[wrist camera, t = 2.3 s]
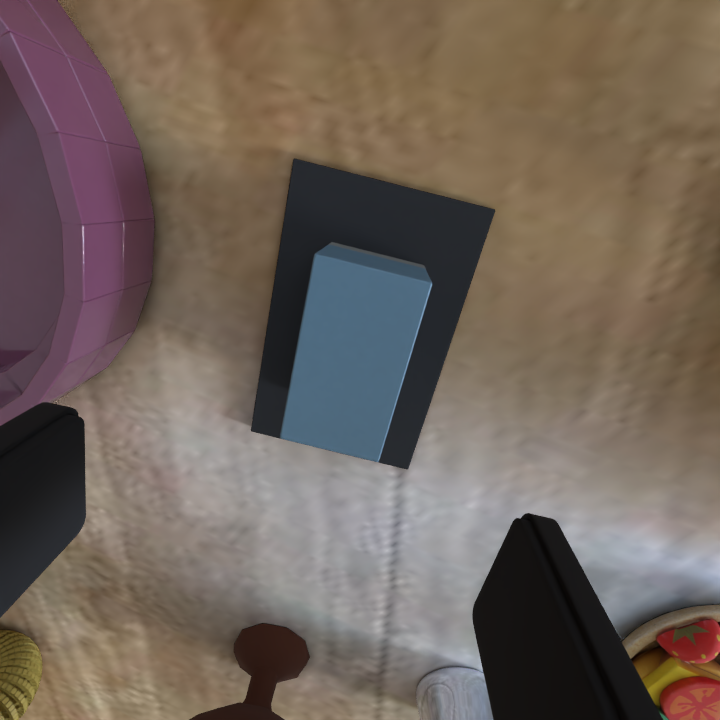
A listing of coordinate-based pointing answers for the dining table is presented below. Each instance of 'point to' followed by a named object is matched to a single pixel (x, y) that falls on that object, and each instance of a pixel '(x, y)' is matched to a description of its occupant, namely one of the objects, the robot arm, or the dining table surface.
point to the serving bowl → (64, 211)
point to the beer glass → (453, 695)
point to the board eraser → (353, 349)
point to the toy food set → (680, 662)
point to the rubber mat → (383, 236)
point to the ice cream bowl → (263, 670)
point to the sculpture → (18, 673)
